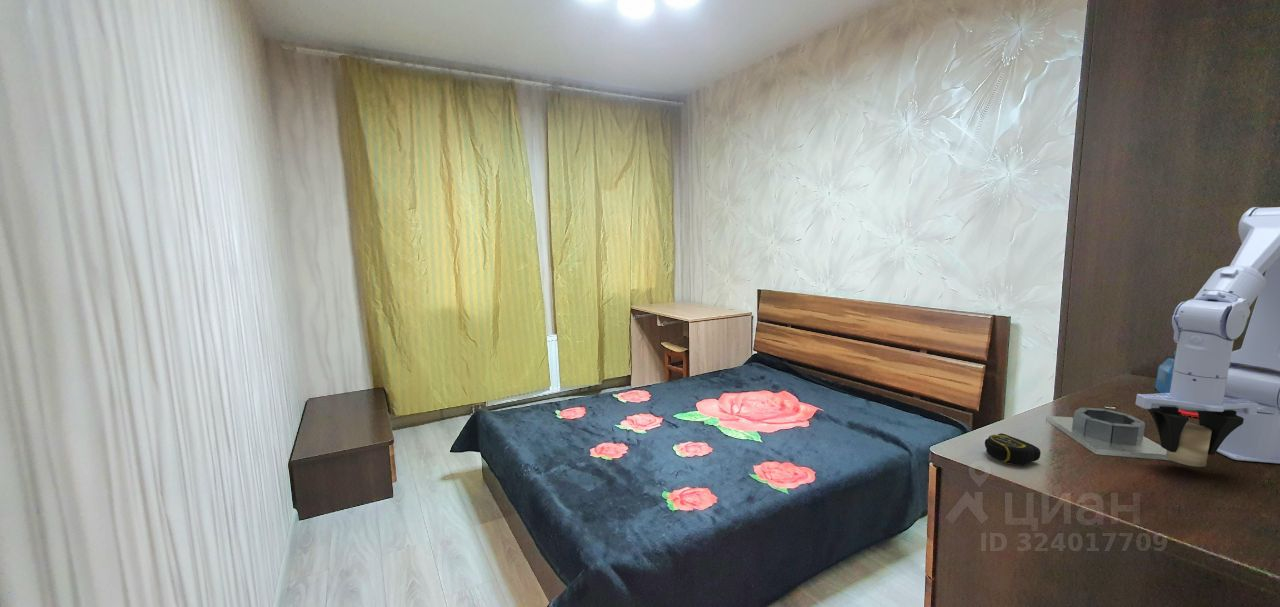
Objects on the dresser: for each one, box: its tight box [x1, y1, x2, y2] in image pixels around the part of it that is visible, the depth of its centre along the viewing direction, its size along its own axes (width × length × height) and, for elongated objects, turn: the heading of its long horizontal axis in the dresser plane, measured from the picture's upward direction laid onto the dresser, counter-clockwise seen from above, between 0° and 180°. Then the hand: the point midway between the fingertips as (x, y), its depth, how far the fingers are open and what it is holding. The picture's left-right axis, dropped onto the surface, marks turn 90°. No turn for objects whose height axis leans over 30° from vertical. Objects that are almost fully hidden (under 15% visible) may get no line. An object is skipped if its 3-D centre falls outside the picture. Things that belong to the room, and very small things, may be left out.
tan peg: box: [1166, 421, 1212, 468], centre depth 78 cm, size 4×4×6 cm
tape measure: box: [984, 432, 1041, 466], centre depth 84 cm, size 7×7×4 cm
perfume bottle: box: [1154, 345, 1177, 393], centre depth 112 cm, size 6×6×12 cm
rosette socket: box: [1045, 407, 1173, 462], centre depth 91 cm, size 12×16×4 cm
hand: (1187, 450), depth 79 cm, fingers closed on tan peg, 4 cm apart
